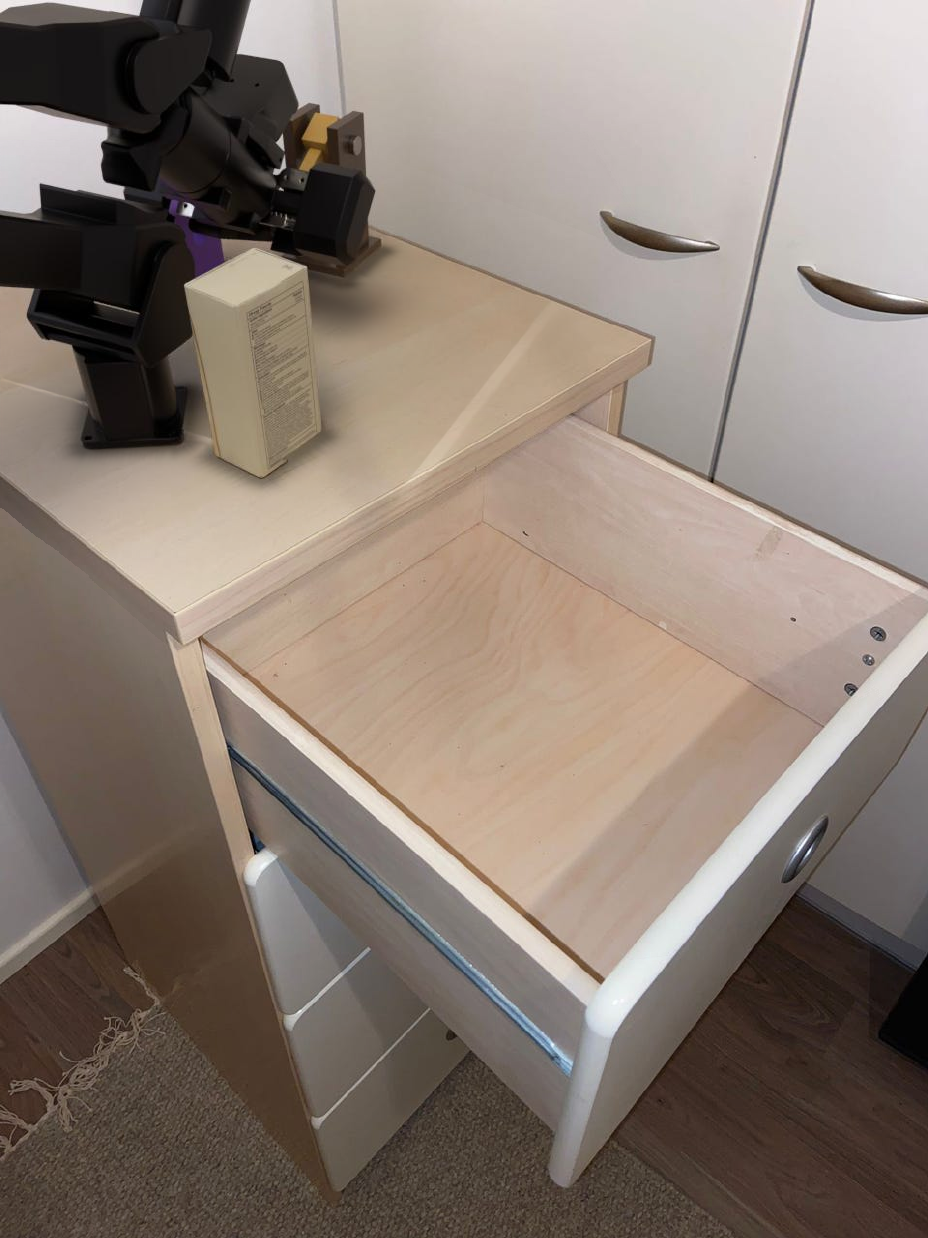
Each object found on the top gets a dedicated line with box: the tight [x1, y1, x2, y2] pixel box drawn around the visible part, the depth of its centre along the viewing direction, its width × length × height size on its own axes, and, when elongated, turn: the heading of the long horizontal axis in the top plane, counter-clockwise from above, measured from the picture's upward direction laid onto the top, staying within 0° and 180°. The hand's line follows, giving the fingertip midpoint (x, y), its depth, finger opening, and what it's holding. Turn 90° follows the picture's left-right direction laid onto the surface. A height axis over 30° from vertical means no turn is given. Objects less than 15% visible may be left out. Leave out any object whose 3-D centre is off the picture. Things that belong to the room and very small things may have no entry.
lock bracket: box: [280, 102, 382, 278], centre depth 81 cm, size 7×6×12 cm
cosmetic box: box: [184, 247, 322, 479], centre depth 61 cm, size 6×4×12 cm
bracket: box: [169, 200, 226, 278], centre depth 80 cm, size 12×7×7 cm, turn 69°
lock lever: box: [265, 112, 341, 237], centre depth 77 cm, size 11×3×3 cm, turn 157°
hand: (296, 239), depth 79 cm, fingers closed on lock lever, 3 cm apart
